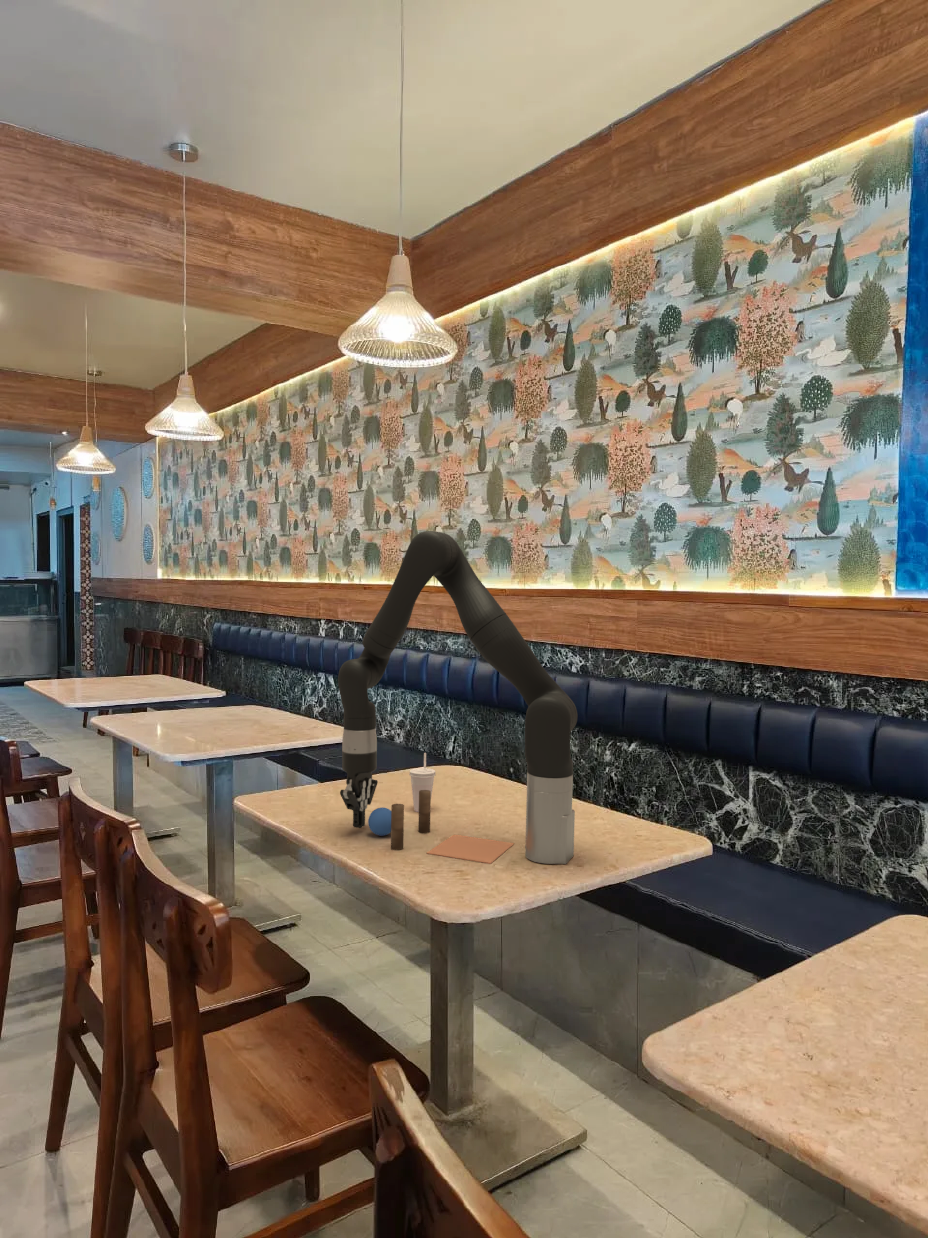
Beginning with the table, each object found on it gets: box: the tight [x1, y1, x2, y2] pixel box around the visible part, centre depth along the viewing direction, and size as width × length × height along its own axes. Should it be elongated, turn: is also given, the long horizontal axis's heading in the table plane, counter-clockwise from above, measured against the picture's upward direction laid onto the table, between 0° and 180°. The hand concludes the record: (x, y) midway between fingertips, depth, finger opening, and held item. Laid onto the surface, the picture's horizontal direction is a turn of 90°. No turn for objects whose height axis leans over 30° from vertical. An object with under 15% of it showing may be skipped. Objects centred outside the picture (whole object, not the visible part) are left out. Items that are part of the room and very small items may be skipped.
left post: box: [390, 803, 405, 851], centre depth 176 cm, size 3×3×9 cm
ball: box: [367, 806, 391, 837], centre depth 185 cm, size 6×6×6 cm
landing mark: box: [426, 833, 515, 865], centre depth 177 cm, size 14×14×1 cm
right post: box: [417, 790, 432, 834], centre depth 188 cm, size 3×3×9 cm
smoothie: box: [409, 752, 437, 813], centre depth 206 cm, size 6×6×14 cm
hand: (359, 826), depth 188 cm, fingers closed
